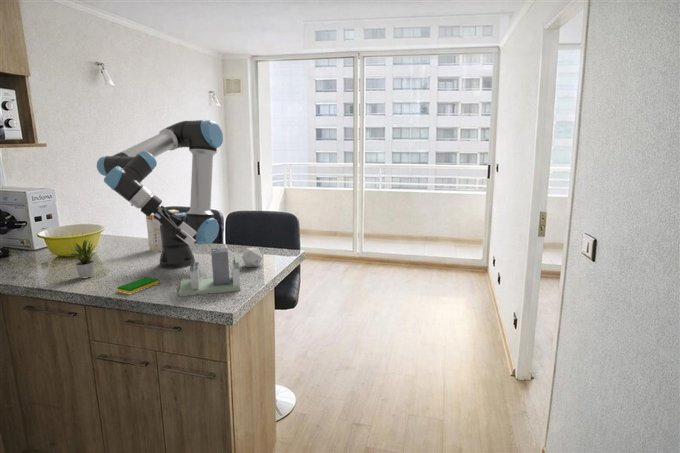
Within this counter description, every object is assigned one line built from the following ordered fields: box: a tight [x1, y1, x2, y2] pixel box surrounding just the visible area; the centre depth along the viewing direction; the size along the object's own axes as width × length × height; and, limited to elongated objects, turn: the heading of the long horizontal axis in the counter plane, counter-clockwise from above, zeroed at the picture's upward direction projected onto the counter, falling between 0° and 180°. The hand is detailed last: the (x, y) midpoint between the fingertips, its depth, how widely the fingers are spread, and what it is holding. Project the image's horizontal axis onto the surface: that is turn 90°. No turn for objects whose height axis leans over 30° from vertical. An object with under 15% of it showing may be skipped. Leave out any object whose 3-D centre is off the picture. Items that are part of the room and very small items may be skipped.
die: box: [241, 247, 263, 268], centre depth 198 cm, size 8×9×10 cm
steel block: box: [210, 247, 230, 286], centre depth 171 cm, size 6×6×13 cm
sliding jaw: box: [189, 258, 201, 290], centre depth 169 cm, size 13×2×8 cm, turn 15°
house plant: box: [64, 238, 98, 279], centre depth 185 cm, size 14×14×16 cm
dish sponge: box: [116, 276, 160, 293], centre depth 172 cm, size 7×14×2 cm, turn 155°
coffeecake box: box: [145, 209, 180, 253], centre depth 229 cm, size 15×7×20 cm, turn 133°
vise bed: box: [178, 253, 241, 297], centre depth 171 cm, size 14×22×11 cm, turn 105°
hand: (193, 239), depth 166 cm, fingers open, 13 cm apart
